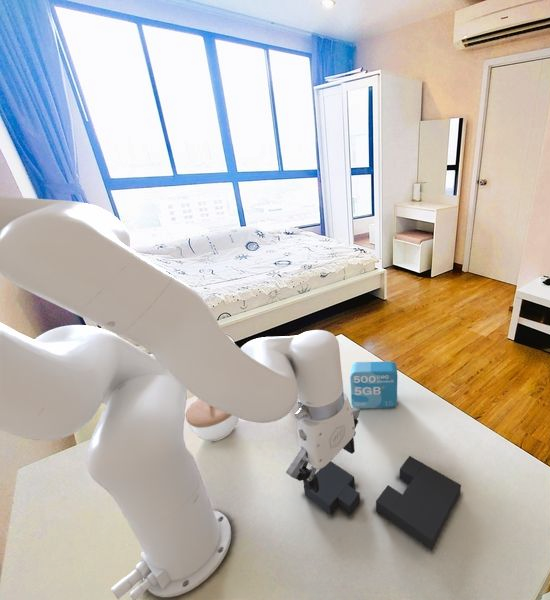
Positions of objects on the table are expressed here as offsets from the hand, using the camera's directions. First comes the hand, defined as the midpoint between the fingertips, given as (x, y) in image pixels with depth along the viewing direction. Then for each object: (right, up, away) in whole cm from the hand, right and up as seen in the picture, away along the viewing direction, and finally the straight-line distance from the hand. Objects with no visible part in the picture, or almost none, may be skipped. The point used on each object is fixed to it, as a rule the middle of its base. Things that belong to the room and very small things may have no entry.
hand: (331, 467), depth 62 cm
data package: (+6, +4, +26) cm, 27 cm away
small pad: (+1, -6, +2) cm, 7 cm away
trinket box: (-30, +1, +16) cm, 34 cm away
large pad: (+17, -7, +1) cm, 19 cm away
